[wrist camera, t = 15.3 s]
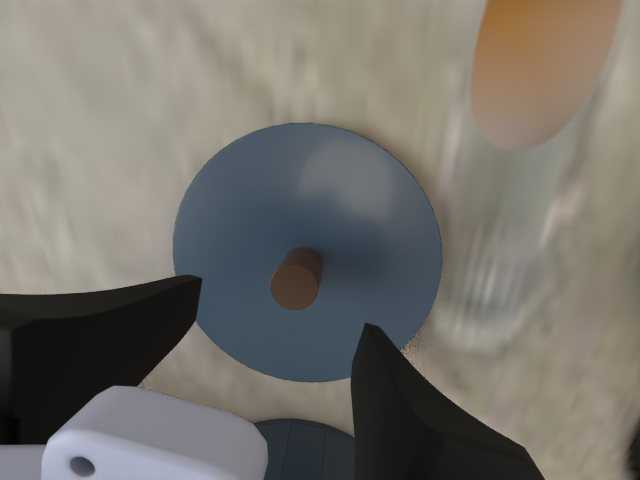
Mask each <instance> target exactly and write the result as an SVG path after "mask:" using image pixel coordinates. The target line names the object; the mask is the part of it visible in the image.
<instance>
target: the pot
mask: <svg viewBox="0 0 640 480" xmlns="http://www.w3.org/2000/svg"><path fill="white" fill-rule="evenodd" d="M254 425H255V427H256V428H257V429H258V431H259V432H260V434H261V435H262V436H263V438H264V439H265V440H266V442H267V449H268V464H267V468H266V472H265V476H264V480H354V472H355V439H354V438H352V437H351V436H349V435H347V434H345V433H343V432H341V431H339V430H337V429H335V428H332V427H329V426H326V425H323V424H319V423H315V422H311V421H304V420H297V419H278V420H268V421H264V422H259V423H255V424H254Z"/></svg>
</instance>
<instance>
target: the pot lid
mask: <svg viewBox="0 0 640 480" xmlns="http://www.w3.org/2000/svg"><path fill="white" fill-rule="evenodd" d="M173 260H174V268H175V274H176V276H180V275H188V274H190V275H193V276H197V277H201V278H203V279H202V286H201V292H200V298H199V304H198V310H197V316H196V322H197V323H198V325H199V326H200V328H201V329H202V330H203V331H204V332H205V333H206V335H207V336H208V337H209V338H210V339H211V340H212V341H213V342H214V343H215V344H216V345H217V346H218V347H220V348H221V349H222V350H223V351H224V352H225V353H227V354H228V355H230V356H231V357H233V358H234V359H235V360H237V361H239V362H240V363H242V364H244V365H246V366H248V367H249V368H251V369H254V370H256V371H259V372H261V373H263V374H266V375H269V376H273V377H276V378H280V379H285V380H291V381H297V382H328V381H334V380H340V379H345V378H348V377H351V370H352V361H353V358H354V355H355V352H356V349H357V346H358V343H359V340H360V337H361V334H362V331H363V328H364V325H365V322H366V323H369V324H373V325H377V326H380V327H381V329H382V330H383V331H384V332H385V333H386V335H387V336H388V337H389V338H390V340H391V341H392V342H393V343H394V345H395V346H396V347H397V348H398V350H399V351H400V350H401V349H402V348H403V347H404V346H405V345H406V344H407V343H408V342H409V341H410V340H411V339H412V338H413V336H414V335H415V334H416V332H417V331H418V330H419V329H420V327H421V326H422V324H423V322H424V321H425V319H426V317H427V316H428V314H429V312H430V310H431V307H432V305H433V302H434V300H435V298H436V294H437V291H438V287H439V283H440V278H441V268H442V244H441V238H440V233H439V227H438V224H437V221H436V218H435V215H434V212H433V209H432V207H431V205H430V203H429V201H428V199H427V197H426V195H425V193H424V191H423V190H422V188H421V187H420V185H419V184H418V182H417V181H416V179H415V178H414V176H413V175H412V174H411V173H410V172H409V171H408V170H407V169H406V168H405V167H404V165H403V164H402V163H401V162H400V161H398V160H397V159H396V158H395V157H394V156H392V155H391V154H390V153H389V152H388V151H386V150H385V149H384V148H382V147H380V146H379V145H377V144H375V143H374V142H372V141H370V140H369V139H367V138H365V137H362V136H360V135H358V134H355V133H353V132H351V131H348V130H344V129H341V128H337V127H333V126H329V125H321V124H314V123H290V124H284V125H277V126H271V127H268V128H265V129H261V130H258V131H255V132H252V133H250V134H248V135H246V136H244V137H241V138H239V139H237V140H236V141H234V142H232V143H231V144H229V145H228V146H226V147H225V148H223V149H222V150H221V151H219V152H218V153H217V154H216V155H215V156H214V157H213V158H211V159H210V160H209V161H208V162H207V163H206V164H205V166H204V167H203V168H202V169H201V170H200V172H199V173H198V174H197V175H196V177H195V178H194V180H193V181H192V183H191V185H190V186H189V188H188V189H187V191H186V194H185V196H184V198H183V200H182V202H181V205H180V208H179V211H178V215H177V218H176V222H175V228H174V235H173Z"/></svg>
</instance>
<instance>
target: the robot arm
mask: <svg viewBox="0 0 640 480" xmlns="http://www.w3.org/2000/svg"><path fill="white" fill-rule="evenodd" d="M202 279H203V278H201V277H197V276H193V275H190V274H188V275H180V276H175V277H171V278H166V279H162V280H158V281H153V282H149V283H144V284H139V285H134V286H129V287H124V288H118V289H112V290H105V291H96V292H86V293H70V294H51V295H21V294H0V480H264V476H265V472H266V468H267V464H268V449H267V442H266V440H265V439H264V438H263V436H262V435H261V434H260V432H259V431H258V429H257V428H256V427H255V425H254V424H252V423H251V422H249V421H247V420H245V419H243V418H241V417H239V416H237V415H235V414H233V413H229V412H226V411H222V410H219V409H215V408H211V407H208V406H204V405H201V404H197V403H194V402H190V401H187V400H183V399H179V398H176V397H172V396H169V395H165V394H162V393H158V392H154V391H151V390H147V389H144V388H140V387H137V386H138V385H139V384H140V383H141V382H142V380H143V379H144V378H145V377H146V376H147V375H148V374H149V373H150V372H151V371H152V370H153V369H154V368H155V367H156V366H157V365H158V364H159V363H160V362H161V361H162V359H163V358H164V357H165V356H166V355H167V354H168V353H169V352H170V351H171V350H172V349H173V348H174V347H175V346H176V345H177V344H178V343H179V342H180V341H181V339H182V338H183V337H184V336H185V334H186V333H187V332H188V330H189V329H190V328H191V326H192V325H193V323H194V322H195V320H196V316H197V310H198V304H199V298H200V292H201V286H202ZM351 396H352V409H353V422H354V435H355V472H354V480H545V479H544V477H543V476H542V474H541V472H540V471H539V469H538V468H537V466H536V465H535V463H534V461H533V460H532V458H531V457H530V455H529V454H528V452H527V451H526V449H525V448H524V447H523V446H521V445H519V444H517V443H516V442H514V441H512V440H510V439H509V438H507V437H505V436H503V435H502V434H500V433H498V432H496V431H495V430H493V429H491V428H490V427H488V426H486V425H485V424H483V423H482V422H480V421H479V420H477V419H476V418H474V417H473V416H471V415H470V414H468V413H467V412H466V411H464V410H463V409H461V408H460V407H459V406H457V405H456V404H455V403H453V402H452V401H451V400H450V399H448V398H447V397H446V396H444V395H443V394H442V393H441V392H440V391H438V390H437V389H436V388H435V387H434V386H433V385H432V384H431V383H430V382H428V381H427V380H426V379H425V378H424V377H423V376H422V375H421V374H420V373H419V372H418V371H417V370H416V369H415V368H414V367H413V366H412V365H411V363H410V362H409V361H408V360H407V359H406V358H405V357H404V356H403V354H402V353H401V352H400V351H399V350H398V348H397V347H396V346H395V345H394V343H393V342H392V341H391V340H390V338H389V337H388V336H387V335H386V333H385V332H384V331H383V330H382V329H381V327H380V326H377V325H373V324H369V323H366V322H365V325H364V328H363V331H362V334H361V337H360V340H359V343H358V346H357V349H356V352H355V355H354V358H353V361H352V370H351Z"/></svg>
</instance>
